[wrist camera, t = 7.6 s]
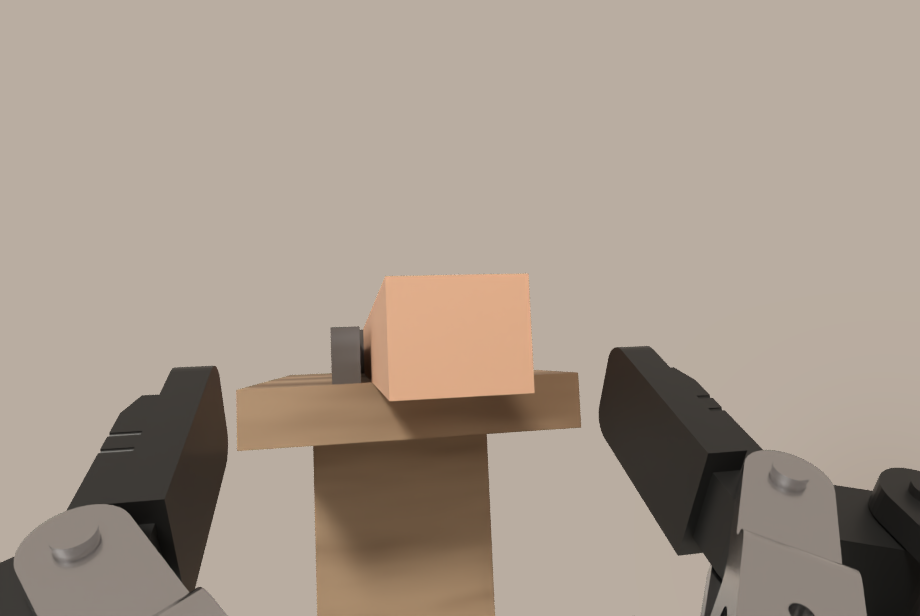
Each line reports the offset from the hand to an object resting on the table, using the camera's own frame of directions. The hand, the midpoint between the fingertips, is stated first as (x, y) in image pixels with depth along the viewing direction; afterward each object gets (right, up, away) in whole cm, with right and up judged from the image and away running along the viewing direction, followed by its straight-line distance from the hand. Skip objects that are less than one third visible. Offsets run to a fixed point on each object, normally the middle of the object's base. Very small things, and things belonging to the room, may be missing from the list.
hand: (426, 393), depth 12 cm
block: (-1, -1, +11) cm, 11 cm away
